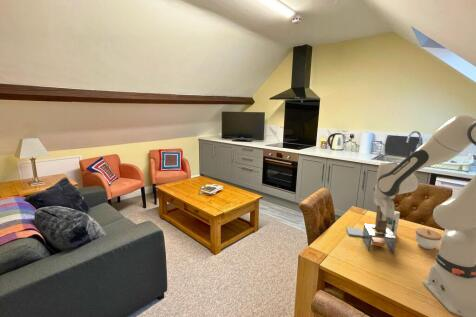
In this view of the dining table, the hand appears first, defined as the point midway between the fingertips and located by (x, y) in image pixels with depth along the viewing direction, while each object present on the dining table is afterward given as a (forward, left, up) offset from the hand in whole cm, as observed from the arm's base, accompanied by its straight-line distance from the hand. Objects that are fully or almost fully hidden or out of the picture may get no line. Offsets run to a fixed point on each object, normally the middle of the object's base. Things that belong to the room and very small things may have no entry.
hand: (381, 217), depth 124 cm
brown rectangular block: (0, 0, -8) cm, 8 cm away
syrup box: (+14, -10, -17) cm, 24 cm away
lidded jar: (+6, -25, -17) cm, 31 cm away
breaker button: (0, 0, -15) cm, 15 cm away
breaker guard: (0, 0, -17) cm, 17 cm away
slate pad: (+11, +9, -17) cm, 22 cm away
